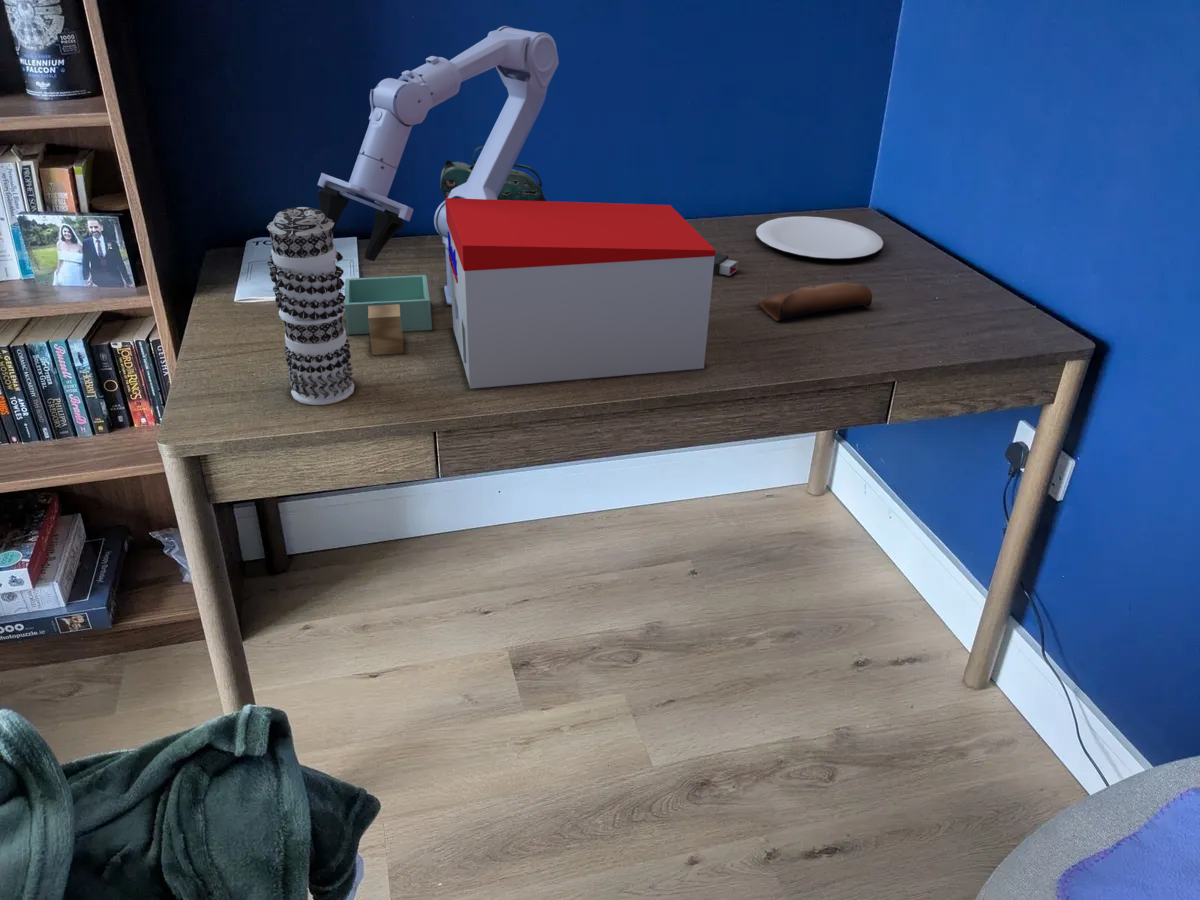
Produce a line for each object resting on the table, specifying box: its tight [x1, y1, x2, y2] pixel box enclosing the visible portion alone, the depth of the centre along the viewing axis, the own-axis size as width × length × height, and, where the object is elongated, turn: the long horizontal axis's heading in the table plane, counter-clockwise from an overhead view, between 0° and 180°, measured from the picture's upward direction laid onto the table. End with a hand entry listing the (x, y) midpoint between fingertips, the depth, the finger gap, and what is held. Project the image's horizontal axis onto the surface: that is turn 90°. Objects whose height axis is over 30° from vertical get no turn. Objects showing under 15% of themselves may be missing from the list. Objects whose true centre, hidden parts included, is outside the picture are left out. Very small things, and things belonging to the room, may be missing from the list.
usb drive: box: [713, 252, 738, 277], centre depth 176 cm, size 5×12×3 cm, turn 58°
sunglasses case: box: [758, 282, 873, 322], centre depth 161 cm, size 18×7×7 cm, turn 113°
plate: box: [755, 215, 884, 261], centre depth 190 cm, size 25×25×2 cm
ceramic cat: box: [439, 145, 547, 201], centre depth 176 cm, size 20×6×20 cm, turn 104°
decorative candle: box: [266, 206, 355, 406], centre depth 125 cm, size 9×9×25 cm
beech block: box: [368, 304, 405, 356], centre depth 143 cm, size 5×5×6 cm
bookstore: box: [444, 197, 717, 390], centre depth 140 cm, size 21×35×21 cm, turn 104°
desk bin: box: [343, 274, 433, 336], centre depth 152 cm, size 13×11×5 cm
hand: (346, 250), depth 140 cm, fingers open, 7 cm apart
